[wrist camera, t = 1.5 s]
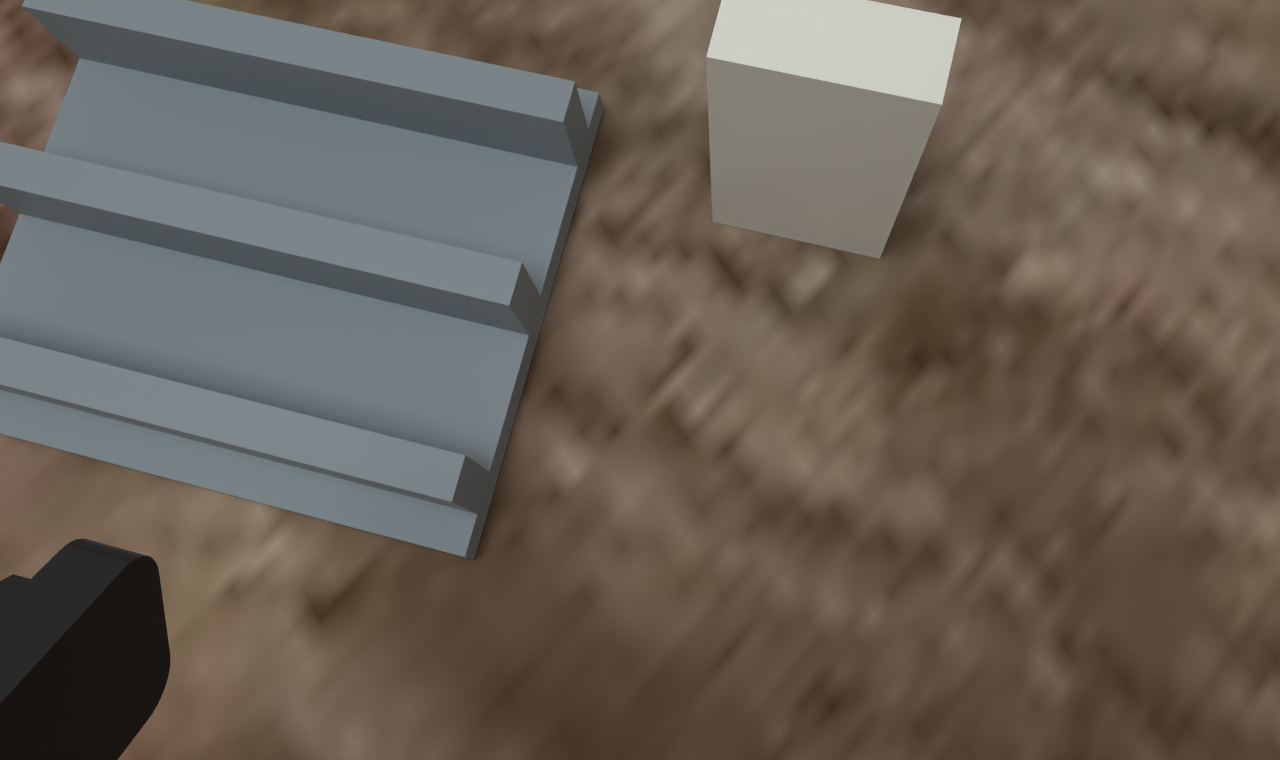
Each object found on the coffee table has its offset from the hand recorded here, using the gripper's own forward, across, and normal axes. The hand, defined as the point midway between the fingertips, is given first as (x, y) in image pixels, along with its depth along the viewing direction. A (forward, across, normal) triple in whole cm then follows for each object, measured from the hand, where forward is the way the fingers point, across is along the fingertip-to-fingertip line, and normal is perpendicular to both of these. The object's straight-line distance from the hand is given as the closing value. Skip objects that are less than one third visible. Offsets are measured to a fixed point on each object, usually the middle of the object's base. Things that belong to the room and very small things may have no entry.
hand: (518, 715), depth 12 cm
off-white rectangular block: (+24, -1, +5) cm, 25 cm away
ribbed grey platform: (+20, +13, +8) cm, 26 cm away
